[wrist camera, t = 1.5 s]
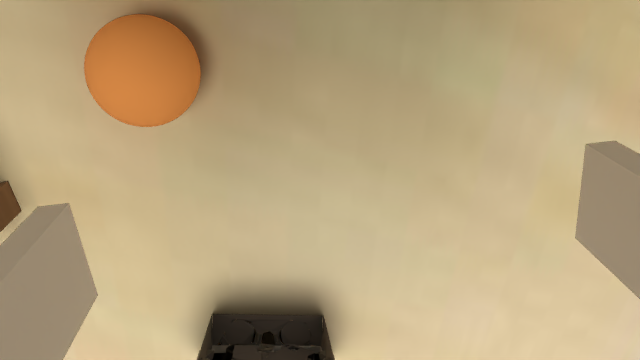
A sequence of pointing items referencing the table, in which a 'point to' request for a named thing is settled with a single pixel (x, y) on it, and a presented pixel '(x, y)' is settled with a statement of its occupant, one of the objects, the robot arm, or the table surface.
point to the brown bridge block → (7, 205)
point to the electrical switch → (246, 356)
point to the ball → (142, 70)
